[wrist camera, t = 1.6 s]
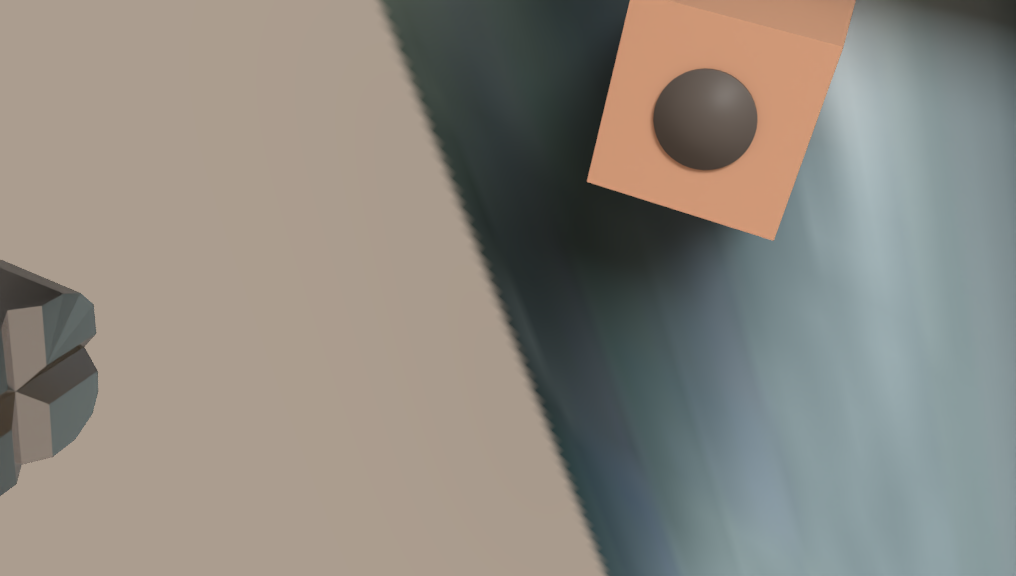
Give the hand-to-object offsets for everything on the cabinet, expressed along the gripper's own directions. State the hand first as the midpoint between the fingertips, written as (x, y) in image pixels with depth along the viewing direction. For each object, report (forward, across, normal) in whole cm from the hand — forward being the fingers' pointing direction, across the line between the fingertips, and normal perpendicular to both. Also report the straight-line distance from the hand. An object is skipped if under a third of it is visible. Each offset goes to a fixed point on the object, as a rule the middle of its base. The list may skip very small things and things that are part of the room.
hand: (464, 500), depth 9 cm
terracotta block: (+18, 0, 0) cm, 18 cm away
